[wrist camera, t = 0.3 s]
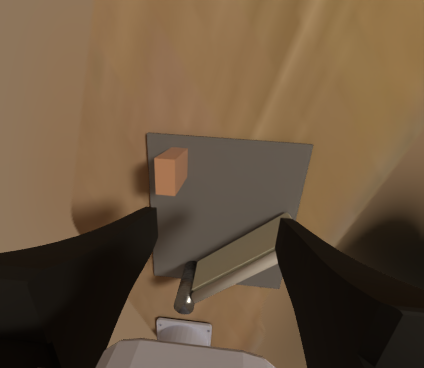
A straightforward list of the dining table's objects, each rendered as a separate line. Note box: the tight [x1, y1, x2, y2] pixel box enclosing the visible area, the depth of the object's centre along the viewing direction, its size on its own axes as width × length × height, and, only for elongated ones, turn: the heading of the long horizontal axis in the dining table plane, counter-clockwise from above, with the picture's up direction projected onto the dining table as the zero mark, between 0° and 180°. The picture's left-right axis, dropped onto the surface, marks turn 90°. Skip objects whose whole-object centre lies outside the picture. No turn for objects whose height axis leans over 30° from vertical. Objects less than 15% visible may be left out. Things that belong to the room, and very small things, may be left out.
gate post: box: [174, 261, 197, 314], centre depth 22 cm, size 2×2×6 cm
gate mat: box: [147, 133, 313, 289], centre depth 22 cm, size 18×16×1 cm
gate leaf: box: [191, 212, 292, 303], centre depth 20 cm, size 12×1×5 cm, turn 127°
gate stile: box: [154, 147, 188, 196], centre depth 18 cm, size 3×2×5 cm, turn 177°
